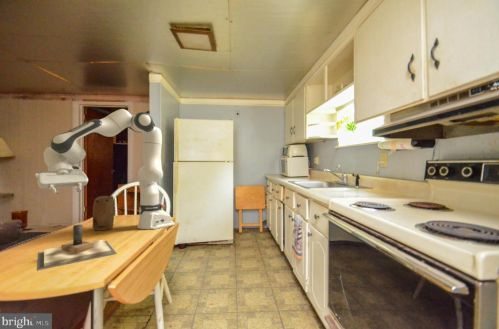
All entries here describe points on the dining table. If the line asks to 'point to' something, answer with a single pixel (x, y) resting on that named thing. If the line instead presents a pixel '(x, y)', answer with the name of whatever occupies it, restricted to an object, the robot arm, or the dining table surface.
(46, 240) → the dining table surface
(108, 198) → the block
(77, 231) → the sanding block
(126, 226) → the dining table surface
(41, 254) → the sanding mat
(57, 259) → the board
